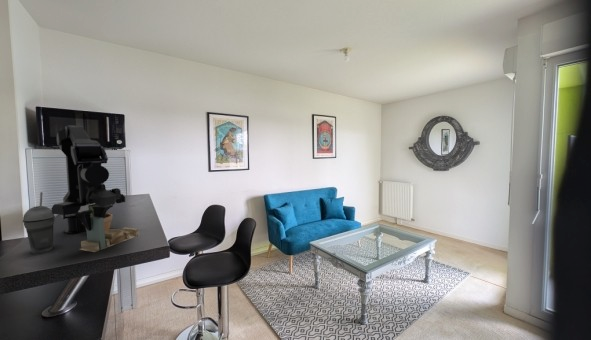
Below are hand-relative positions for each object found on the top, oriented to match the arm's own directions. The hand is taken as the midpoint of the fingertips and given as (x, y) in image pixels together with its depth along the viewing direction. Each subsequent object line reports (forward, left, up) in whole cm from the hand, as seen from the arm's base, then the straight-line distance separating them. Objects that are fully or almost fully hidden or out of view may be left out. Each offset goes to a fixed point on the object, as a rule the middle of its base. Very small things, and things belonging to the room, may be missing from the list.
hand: (94, 229), depth 82 cm
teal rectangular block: (0, 0, -6) cm, 6 cm away
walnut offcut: (0, +5, -6) cm, 8 cm away
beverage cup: (-14, -7, -8) cm, 17 cm away
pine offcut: (0, +5, -4) cm, 7 cm away
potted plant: (-15, +11, -8) cm, 20 cm away
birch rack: (0, +5, -7) cm, 9 cm away
